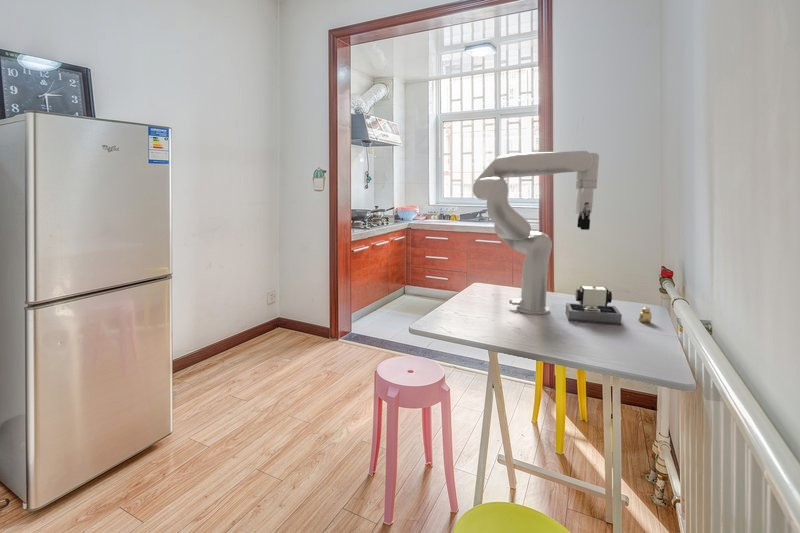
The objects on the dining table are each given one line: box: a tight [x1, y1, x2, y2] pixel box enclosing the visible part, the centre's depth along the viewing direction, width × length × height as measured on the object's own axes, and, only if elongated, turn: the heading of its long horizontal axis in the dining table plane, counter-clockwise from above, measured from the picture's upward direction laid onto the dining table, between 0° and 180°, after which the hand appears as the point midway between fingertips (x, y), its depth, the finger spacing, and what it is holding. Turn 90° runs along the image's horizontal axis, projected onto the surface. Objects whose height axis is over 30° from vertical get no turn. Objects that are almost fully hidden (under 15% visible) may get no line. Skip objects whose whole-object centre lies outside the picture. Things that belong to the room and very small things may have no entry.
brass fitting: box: [638, 307, 652, 324], centre depth 152 cm, size 4×4×5 cm
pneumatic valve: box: [574, 284, 613, 312], centre depth 156 cm, size 6×12×12 cm, turn 76°
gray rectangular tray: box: [565, 302, 623, 326], centre depth 157 cm, size 17×13×4 cm
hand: (583, 228), depth 168 cm, fingers open, 9 cm apart
